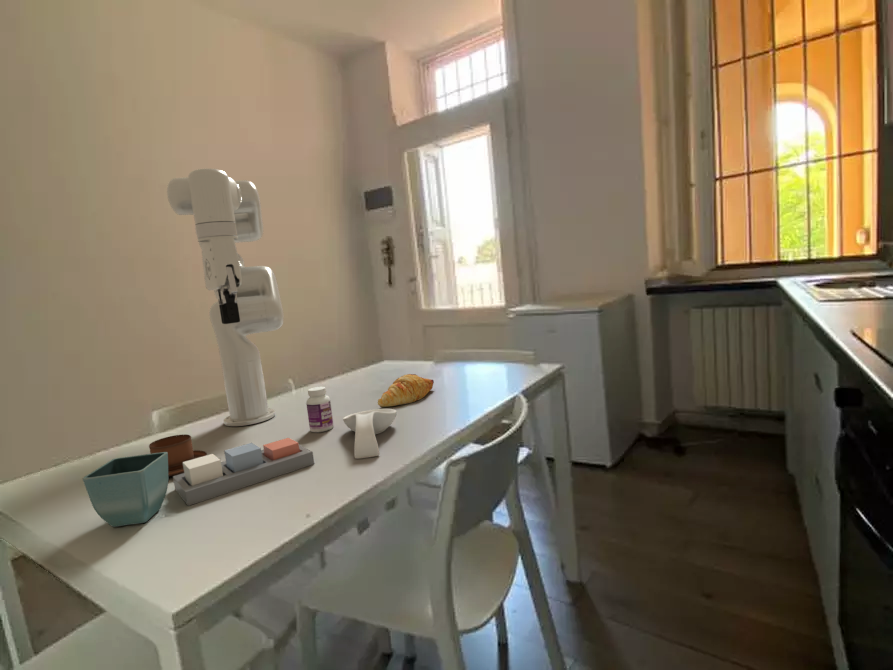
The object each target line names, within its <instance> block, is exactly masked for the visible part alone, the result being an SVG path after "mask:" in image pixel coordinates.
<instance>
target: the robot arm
mask: <svg viewBox="0 0 893 670" xmlns="http://www.w3.org/2000/svg"><path fill="white" fill-rule="evenodd" d="M166 195H167V200H168V203H169V205H170V207H171V209H172V211H173V212H174V213H175V214H177V215H179V216H186V215H187V216H188V215H192V216H193V218H194V227H195V228H194V229H195V234H196V238H197V239H196V240H197V242H198V244H199V247H200V249H201V256H202V257H201V258H202V259H201V260H202V267H203V268H202V269H203V275H204V276H203V277H204V284H205V288H206V289H207V290H208V291H213V293H214V296H215V298H216V300H217V301H215V302H214V303H213V304H212V305H211V306H210V307H209V308H210V309H209V315H208V316H209V320H210V323H211V327H212V329H213V333H214V336H215V339H216V344H217V347H218V353H219V358H220V363H221V364H220V365H221V369H222V375H223V376H222V377H223V383H224V388H225V389H224V390H225V394H226V401H227V406H228V414H229V415H227V416H226V417H225V418H224V419H223V424H224V426H227V427H245V426H249V425H255V424H259V423H262V422H263V423H264V422H266V421H268V420H270V419H272V418H274V417H275V416H276V410H275V409H274V408H269V404H268V399H267V398H268V397H267V391H266V383H265V377H264V372H263V371H264V370H263V364H262V358H261V352H260V350H259V347H258V346H257V345H256V344H255V343H254V342H253V341H252V340H250V338H248V337H247V336H248V335H252V334H259V333H265V332H273V331H277V330H279V329H280V328H281V327H282V326H283V325H284V320H285V316H284V309H283V304H282V303H283V302H282V299H281V295H280V290H279V285H278V282H277V277H276V275H275V273H274V271H273V269H271V267H269V266H265V265H254V266H245V260H244V258H243V256H241V254H240V253H238V250H237V246H236V244H238V243H249V242H256V241H257V242H258V241H260V240H261V239H262V237H263V234H264V222H263V213H262V205H261V198H260V194H259V191H258V189H257V186H256V185H255V184H254V183H253V182H252V181H250V180H246V179H245V180H244V179H243V180H239V179H238V180H234V179H233V178H232V177H229V176H228V174H227V173H226V172H225V171H224V170H221V169H219V168H218V169H217V168H198V169H194V170H192V171H190V173H189V174H188V176H187V177H174V178H172V179H170V180H169V181H168V183H167V189H166Z"/></svg>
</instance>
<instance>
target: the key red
mask: <svg viewBox="0 0 893 670" xmlns="http://www.w3.org/2000/svg"><path fill="white" fill-rule="evenodd" d="M299 445H300V444H299V442H297V441H296V440H294V439H293V438H290V437H287V438H283V439H280V440H279V439H278V440H275V441H273V442H269V443H265V444H263V445H262V447H263V450H264V454H265V457H267V458H269V459H270V460H272V461H273V460H276V459H279V458H283V457H286V456H289V455H292V454H295V453H299V452H300V450H299Z"/></svg>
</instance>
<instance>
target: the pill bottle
mask: <svg viewBox="0 0 893 670" xmlns="http://www.w3.org/2000/svg"><path fill="white" fill-rule="evenodd" d="M326 394H327V389H326V387H325V386H315V387H311V388H308V389H307V395H308V398H307V400H306V403H305V404H306V411H307V416H308V425H309V430H310V432H312V433H323V432H327V431H330V430H332V429H333V428H334V419H333V412H332V411H333V410H332V402H331V398H330V396H329V395H326Z"/></svg>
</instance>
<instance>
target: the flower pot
mask: <svg viewBox="0 0 893 670" xmlns="http://www.w3.org/2000/svg"><path fill="white" fill-rule="evenodd" d="M82 482H83V485H84V486H85V489H86V493H87V496H88V497H89V500H90V503H91V506H92V508H93V509H94V511H95V512H96V513H97V515H98V516H99V517H100V518H101V519H102V520H103V521H104V522H105V523H107V524H108V525H110V526H111V527H114V528H115V527H121V526H122V527H123V526H130V525H137V524H143V523H146V522H148V521H149V520H150V519H151V518H152V517H153V516H154V515H155V514H156V513H158V512H159V510H160V509H161V508H162V505H163V503H164V501H165V498H166V495H167V492H168V486H169V477H168V452H161V453H153V454H151V453H147V454H139V455H132V456H130V455H129V456H123V457H122V456H121V457H115V458H112V459H110V460H108V461H107V462H105V463H104V464H103V465H101V466H99V467H98V468H95V470H93V471H91V472H90V473H87V474H86V475H85V476H84V477H82Z"/></svg>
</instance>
